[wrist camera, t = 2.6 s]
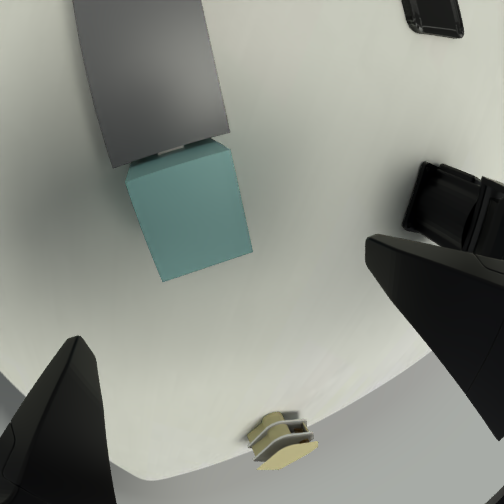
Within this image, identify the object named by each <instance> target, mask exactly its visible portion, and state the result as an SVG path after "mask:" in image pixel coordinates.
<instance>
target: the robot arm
mask: <svg viewBox="0 0 504 504" xmlns="http://www.w3.org/2000/svg"><path fill="white" fill-rule="evenodd" d="M426 167H427V168H426ZM402 226H403V228H404V229H405V230H407V231H412V232H417V233H420V234H422V235H423V236H425V237H427V238H428V239H430V240H431V241H433V242H435V243H436V244H438V245H439V246H435V245H431V244H426V243H421V242H416V241H411V240H407V239H402V238H397V237H392V236H386V235H381V234H375V235H373V236H370V237H368V238H367V239H366V242H365V262H366V265H367V267H368V269H369V270H370V271H371V273H372V274H373V276H374V277H375V278H376V280H377V281H378V283H379V284H380V286H381V287H382V288H383V290H384V291H385V293H386V294H387V296H388V297H389V298H390V300H391V301H392V302H393V304H394V305H395V306H396V307H397V308H398V310H399V311H400V312H401V313H402V314H403V315H404V317H405V318H406V319H407V320H408V321H409V323H410V324H411V325H412V326H413V328H414V329H415V330H416V331H417V332H418V334H419V335H420V336H421V337H422V339H423V340H424V341H425V342H426V344H427V345H428V346H429V347H430V349H431V350H432V351H433V352H434V353H435V355H436V356H437V357H438V359H439V360H440V361H441V363H442V364H443V365H444V366H445V368H446V369H447V370H448V372H449V373H450V374H451V376H452V377H453V378H454V379H455V381H456V382H457V384H458V385H459V386H460V388H461V389H462V390H463V392H464V393H465V394H466V396H467V397H468V399H469V400H470V401H471V403H472V404H473V406H474V407H475V408H476V410H477V411H478V413H479V414H480V415H481V417H482V418H483V420H484V421H485V423H486V424H487V426H488V427H489V429H490V430H491V432H492V433H493V435H494V436H495V437H496V439H497V440H498V441H500V440H501V439H502V438H503V437H504V184H503V183H501V182H498V181H495V180H492V179H489V178H486V177H483V176H482V178H481V180H480V179H478V178H477V177H475V176H473V175H471V174H468V173H466V172H463V171H461V170H458V169H456V168H453V167H450V166H448V165H445V164H440V166H439V167H437V166H435V165H433V164H431V163H428V162H424V163H423V164H422V166H421V170H420V173H419V176H418V180H417V183H416V186H415V189H414V192H413V195H412V198H411V201H410V204H409V207H408V210H407V213H406V216H405V219H404V221H403V225H402ZM440 246H441V247H440ZM0 504H117V503H116V498H115V493H114V488H113V482H112V476H111V470H110V463H109V456H108V448H107V440H106V430H105V420H104V409H103V401H102V395H101V389H100V383H99V376H98V370H97V362H96V358H95V356H94V354H93V352H92V351H91V350H90V348H89V347H88V345H87V344H86V342H85V341H84V339H83V338H82V337H81V336H74V337H71V338H68V339H67V340H66V341H65V343H64V344H63V345H62V347H61V348H60V350H59V351H58V352H57V354H56V355H55V356H54V358H53V359H52V360H51V362H50V363H49V365H48V366H47V367H46V369H45V370H44V372H43V373H42V374H41V376H40V377H39V379H38V380H37V382H36V383H35V385H34V386H33V388H32V389H31V390H30V392H29V393H28V395H27V396H26V398H25V399H24V401H23V402H22V404H21V406H20V407H19V409H18V410H17V412H16V413H15V415H14V416H13V418H12V420H11V423H9V424H8V426H7V428H6V430H5V431H4V433H3V434H2V436H1V437H0ZM486 504H504V486H503V487H502V488H501V489H500V490H499V491H498V492H497V493H496V494H495V495H494V496H493V497H492V498H491V499H490V500H489V501H488V502H487V503H486Z"/></svg>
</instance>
